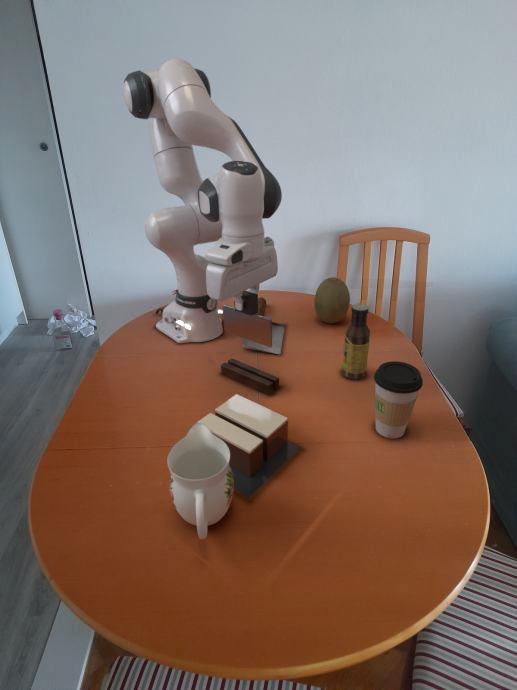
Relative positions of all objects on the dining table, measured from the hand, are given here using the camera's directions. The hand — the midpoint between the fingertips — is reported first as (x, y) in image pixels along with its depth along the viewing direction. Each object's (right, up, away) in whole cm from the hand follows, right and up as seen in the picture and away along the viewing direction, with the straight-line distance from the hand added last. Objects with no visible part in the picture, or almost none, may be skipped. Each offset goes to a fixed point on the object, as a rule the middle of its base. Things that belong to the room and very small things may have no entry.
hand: (245, 306), depth 100 cm
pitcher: (-7, -39, -21) cm, 45 cm away
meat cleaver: (+6, -3, +43) cm, 43 cm away
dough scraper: (0, -7, +4) cm, 8 cm away
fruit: (+26, -1, +46) cm, 53 cm away
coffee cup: (+32, -28, -1) cm, 42 cm away
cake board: (-1, -31, -7) cm, 32 cm away
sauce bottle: (+28, -17, +18) cm, 37 cm away
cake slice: (-3, -31, -9) cm, 33 cm away
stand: (0, -18, +16) cm, 24 cm away
